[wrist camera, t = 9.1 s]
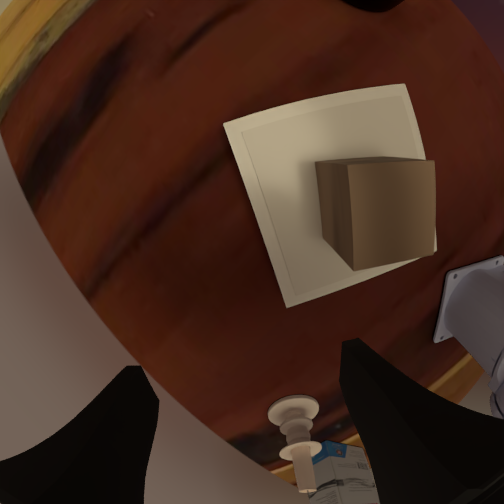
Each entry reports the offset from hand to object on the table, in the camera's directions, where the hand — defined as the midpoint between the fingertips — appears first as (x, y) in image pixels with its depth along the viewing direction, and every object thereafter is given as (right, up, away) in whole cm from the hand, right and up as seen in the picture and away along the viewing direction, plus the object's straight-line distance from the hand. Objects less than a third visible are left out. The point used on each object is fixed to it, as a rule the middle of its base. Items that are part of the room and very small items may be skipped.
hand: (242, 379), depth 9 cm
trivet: (+6, +9, +8) cm, 14 cm away
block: (+6, +8, +6) cm, 12 cm away
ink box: (+11, -23, +20) cm, 33 cm away
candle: (+4, -12, +16) cm, 20 cm away
